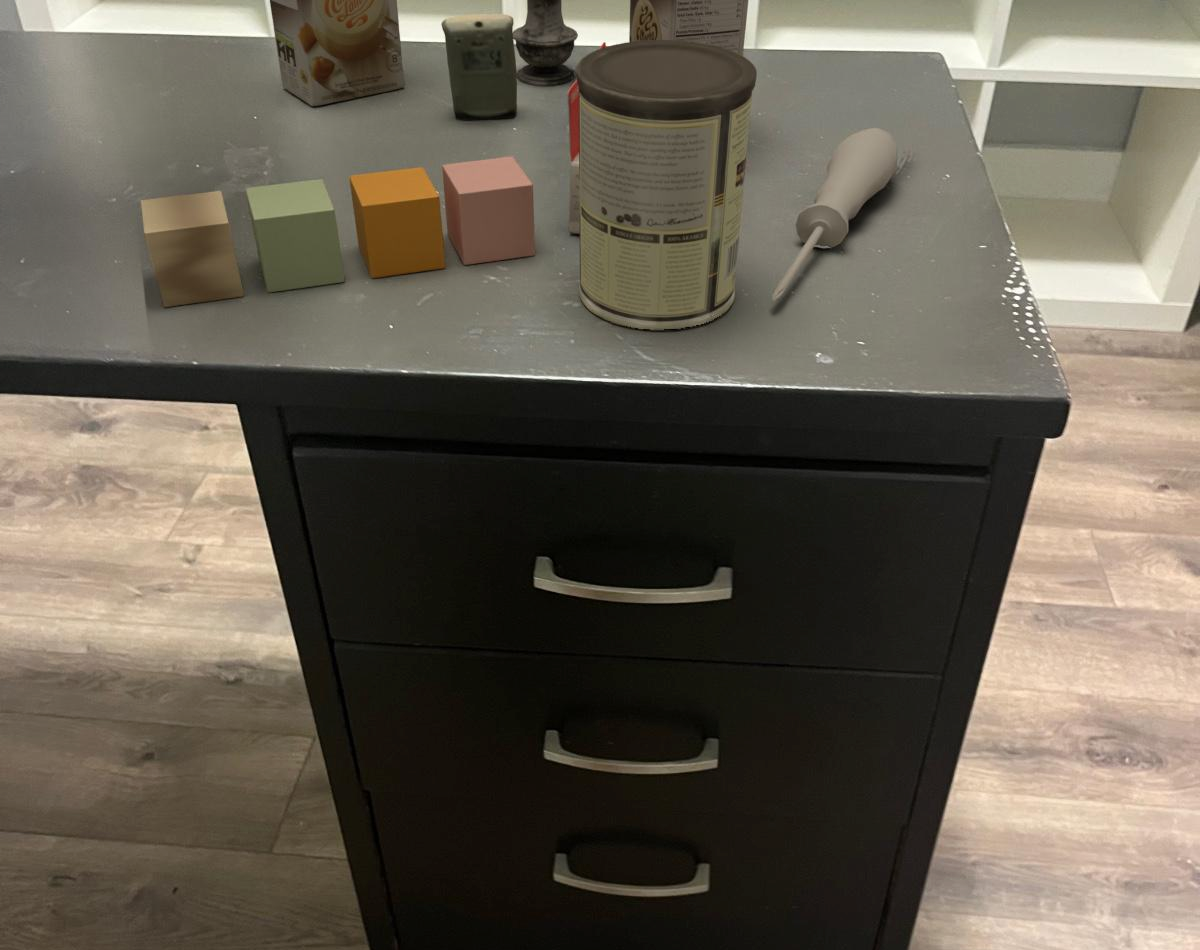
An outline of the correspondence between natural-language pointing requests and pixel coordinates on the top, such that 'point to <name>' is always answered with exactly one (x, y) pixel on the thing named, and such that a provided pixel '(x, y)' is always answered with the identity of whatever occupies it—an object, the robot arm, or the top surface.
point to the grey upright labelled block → (481, 66)
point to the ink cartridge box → (574, 156)
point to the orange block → (398, 222)
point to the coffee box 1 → (337, 48)
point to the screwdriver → (843, 193)
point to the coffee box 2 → (690, 21)
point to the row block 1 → (191, 248)
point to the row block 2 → (295, 235)
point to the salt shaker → (545, 44)
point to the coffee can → (661, 180)
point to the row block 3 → (489, 210)
